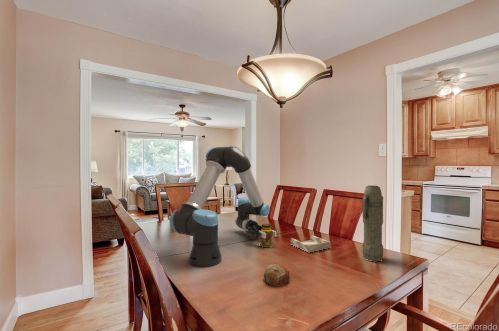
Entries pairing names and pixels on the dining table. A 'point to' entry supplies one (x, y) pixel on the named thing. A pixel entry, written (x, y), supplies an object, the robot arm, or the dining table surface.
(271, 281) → the bread roll
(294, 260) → the dining table surface
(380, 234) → the thermos
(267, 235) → the condiment
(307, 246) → the u rest
